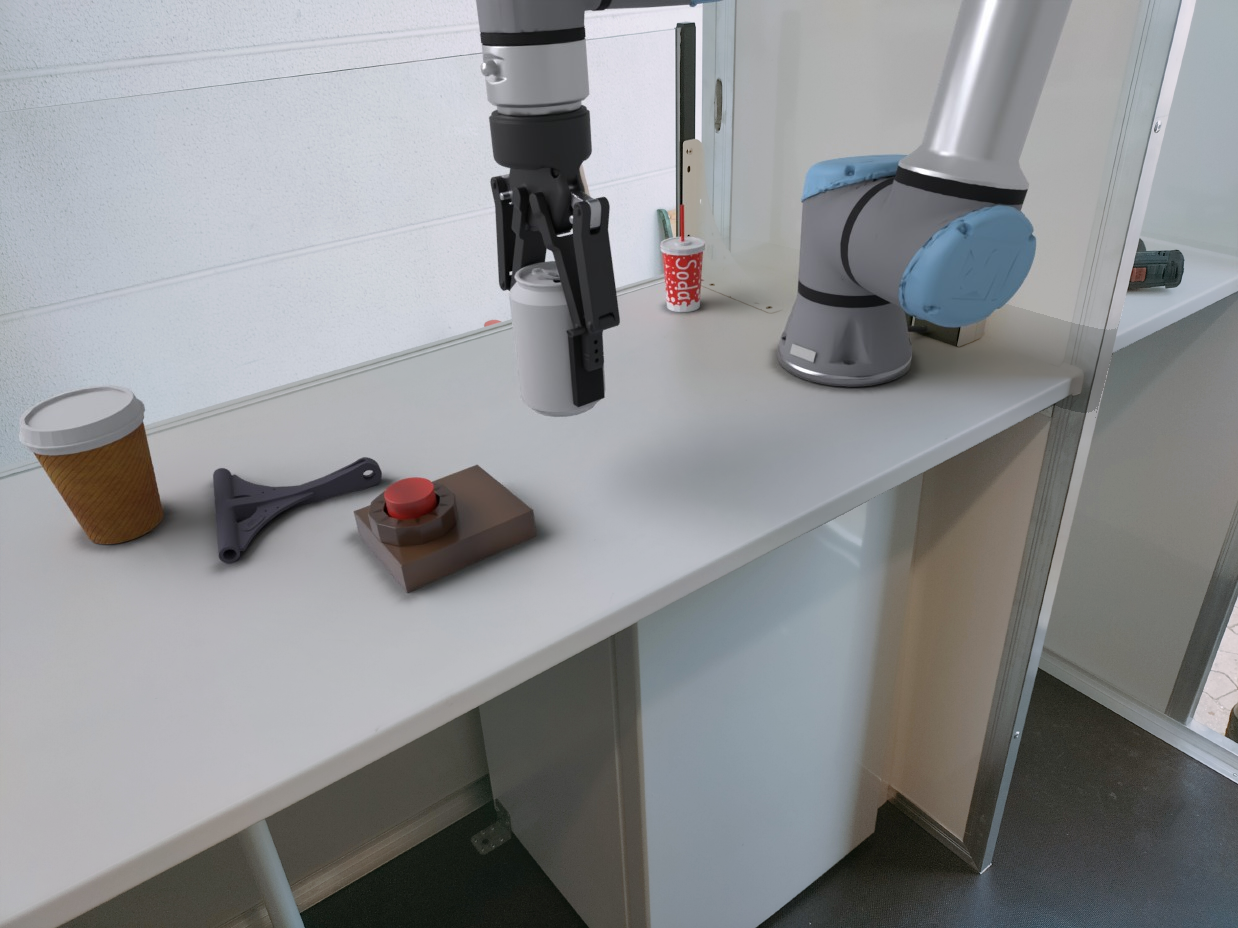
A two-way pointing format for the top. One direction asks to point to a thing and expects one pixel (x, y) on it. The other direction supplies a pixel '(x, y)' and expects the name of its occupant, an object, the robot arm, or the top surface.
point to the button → (410, 498)
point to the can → (543, 341)
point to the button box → (447, 528)
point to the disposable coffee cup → (97, 459)
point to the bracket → (275, 501)
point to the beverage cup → (683, 270)
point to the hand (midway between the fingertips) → (562, 385)
